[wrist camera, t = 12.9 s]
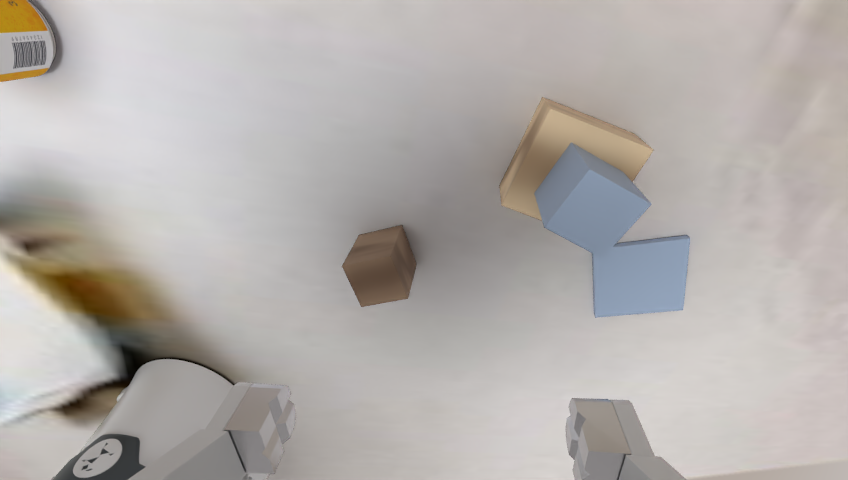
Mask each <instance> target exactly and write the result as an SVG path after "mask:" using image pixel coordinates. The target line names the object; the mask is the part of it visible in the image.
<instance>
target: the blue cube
mask: <svg viewBox="0 0 848 480" xmlns="http://www.w3.org/2000/svg"><path fill="white" fill-rule="evenodd" d="M534 194H535V198H536V201H537V204H538V208H539V211H540V215H541V218H542V221H543V225H544V228H546V229H548V230H550V231H552V232H554V233H556V234H557V235H559V236H561V237H563V238H565V239H567V240H569V241H571V242H572V243H574V244H576V245H578V246H580V247H582V248H584V249H586V250H587V251H589V252H591V253H593V254H595V255H597V256H599V257H601V258H603V257H604V256H605V255H606V254H607V253H608V252H609V250H610V249H611V248H612V247H613V246H614V245H615V244H616V243H617V242H618V241H619V239H620V238H621V237H622V236H623V235H624V234H625V233H626V232H627V231H628V230H629V228H630V227H631V226H632V225H633V224H634V223H635V222H636V221H637V220H638V219H639V218H640V216H641V215H642V214H643V213H644V212H645V211H646V210H647V209H648V208H649V207H650V205H651V203H650V202H649V201H648V199H647V198H646V197H645V196H644V195H643V194H642V193H641V191H640V190H639V189H638V188H637V187H636V186H635V185H634V184H633V182H632V181H631V180H630V179H629V178H628V177H627V176H626V174H625V173H624V172H622V171H621V170H619V169H617V168H615V167H614V166H612V165H610V164H609V163H607V162H605V161H603V160H602V159H600V158H598V157H596V156H595V155H593V154H591V153H589V152H588V151H586V150H584V149H582V148H581V147H579V146H577V145H575V144H574V143H572V142H571V143H570V144H569V146H568V147H567V149H566V150H565V151H564V153H563V154H562V156H561V157H560V158H559V160H558V161H557V162H556V164H555V165H554V167H553V168H552V169H551V171H550V172H549V174H548V175H547V176H546V178H545V179H544V180H543V182H542V183H541V185H540V186H539V187H538V189H537V190H536V191H535V193H534Z"/></svg>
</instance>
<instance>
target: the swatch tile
mask: <svg viewBox="0 0 848 480" xmlns="http://www.w3.org/2000/svg"><path fill="white" fill-rule="evenodd" d="M689 245H690V238H689V236H688V235H684V236H676V237H667V238H659V239H651V240H642V241H634V242H626V243H617V244H615V245H614V246H613V247H612V248H611V249H610V250H609V252H608V253H607V254H606V255H605V256H604V257H603V258H601V257H599V256H597V255H595V254H593V253H592V262H593V296H594V315H595V318H596V317H607V316H619V315H631V314H643V313H655V312H666V311H678V310H683V306H684V296H685V286H686V276H687V266H688V255H689Z"/></svg>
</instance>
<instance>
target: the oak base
mask: <svg viewBox="0 0 848 480" xmlns="http://www.w3.org/2000/svg"><path fill="white" fill-rule="evenodd" d="M571 142H572V143H574V144H575V145H577V146H579V147H581V148H582V149H584V150H586V151H588V152H589V153H591V154H593V155H595V156H596V157H598V158H600V159H602V160H603V161H605V162H607V163H609V164H610V165H612V166H614V167H615V168H617V169H619V170H621V171H622V172H624V173H625V174H626V176H627V177H628V178H629V179H630V180H631V181H632V182H633V180H634V179H635V177H636V176H637V174H638V173H639V171H640V170H641V168H642V167H643V165H644V164H645V162H646V161H647V159H648V158H649V156H650V155H651V153H652V152H653V149H652V148H651V147H650V146H648V145H647V144H646V143H645V142H644V141H642V140H641V139H640V138H639V137H637V136H636V135H635V134H633V133H631V132H628V131H626V130H623V129H621V128H618V127H616V126H613V125H611V124H608V123H606V122H603V121H601V120H598V119H596V118H593V117H591V116H588V115H586V114H583V113H581V112H578V111H576V110H573V109H571V108H568V107H566V106H563V105H561V104H558V103H556V102H553V101H551V100H548V99H546V98H543V97H542V99H541V101H540V103H539V105H538V107H537V109H536V111H535V113H534V115H533V118H532V120H531V122H530V124H529V126H528V128H527V130H526V132H525V134H524V136H523V138H522V140H521V142H520V144H519V146H518V148H517V150H516V152H515V155H514V157H513V159H512V161H511V163H510V165H509V167H508V169H507V171H506V173H505V175H504V177H503V179H502V181H501V183H500V185H499V186H500V195H501V205H502V206H504V207H507V208H510V209H512V210H515V211H517V212H520V213H523V214H525V215H528V216H531V217H533V218H536V219H538V220H541V221H542V218H541V215H540V211H539V208H538V204H537V201H536V198H535V194H534V193H535V191H536V190H537V189H538V187H539V186H540V185H541V183H542V182H543V180H544V179H545V178H546V176H547V175H548V174H549V172H550V171H551V169H552V168H553V167H554V165H555V164H556V162H557V161H558V160H559V158H560V157H561V156H562V154H563V153H564V151H565V150H566V149H567V147H568V146H569V144H570V143H571Z"/></svg>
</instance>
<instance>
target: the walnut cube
mask: <svg viewBox="0 0 848 480" xmlns="http://www.w3.org/2000/svg"><path fill="white" fill-rule="evenodd" d="M416 265H417V264H416V261H415V258H414V256H413V253H412V250H411V248H410V245H409V242H408V240H407V237H406V234H405V232H404V229H403V226H402V225H400V226H396V227H391V228H387V229H383V230H378V231H374V232H370V233H365V234H361V235H359V236H358V238H357V239H356V241H355V243H354V245H353V247H352V249H351V251H350V252H349V254H348V256H347V258H346V260H345V262H344V263H343V265H342V267H343V269H344V271H345V273H346V276H347V278H348V280H349V282H350V284H351V286H352V288H353V290H354V292H355V295H356V297H357V299H358V301H359V303H360V305H361V307H364V306H370V305H375V304H381V303H386V302H392V301H397V300H403V299H408V297H409V293H410V289H411V285H412V281H413V277H414V273H415V269H416Z"/></svg>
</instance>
